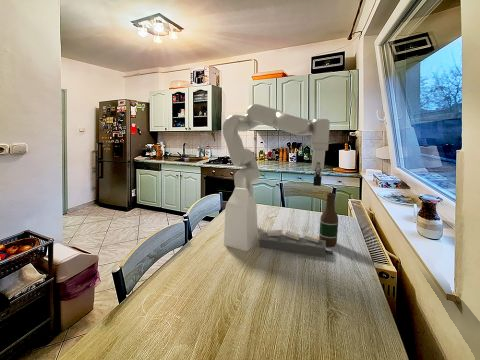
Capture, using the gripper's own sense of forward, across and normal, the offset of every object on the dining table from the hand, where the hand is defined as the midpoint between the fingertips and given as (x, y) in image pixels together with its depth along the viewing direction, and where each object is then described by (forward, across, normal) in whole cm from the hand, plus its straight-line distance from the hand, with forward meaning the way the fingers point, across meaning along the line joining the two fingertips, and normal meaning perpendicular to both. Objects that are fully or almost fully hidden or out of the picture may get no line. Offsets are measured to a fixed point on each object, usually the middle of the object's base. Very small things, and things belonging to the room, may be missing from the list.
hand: (317, 183), depth 118 cm
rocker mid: (+22, +13, -9) cm, 27 cm away
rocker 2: (+22, +14, -1) cm, 26 cm away
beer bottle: (+27, +5, +6) cm, 28 cm away
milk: (+27, +16, -32) cm, 45 cm away
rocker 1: (+22, +13, -17) cm, 31 cm away
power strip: (+27, +15, -7) cm, 32 cm away
